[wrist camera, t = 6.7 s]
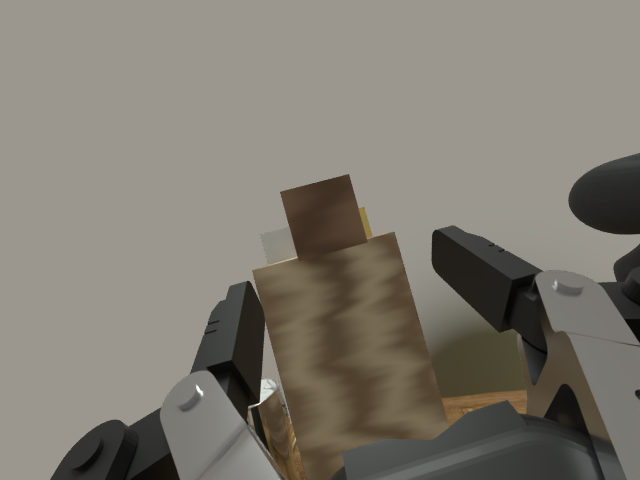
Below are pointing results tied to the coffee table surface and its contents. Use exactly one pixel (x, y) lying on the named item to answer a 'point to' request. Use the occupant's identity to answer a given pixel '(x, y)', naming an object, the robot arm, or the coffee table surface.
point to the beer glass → (274, 426)
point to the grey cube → (278, 245)
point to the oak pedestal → (349, 352)
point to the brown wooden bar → (323, 217)
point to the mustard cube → (365, 222)
